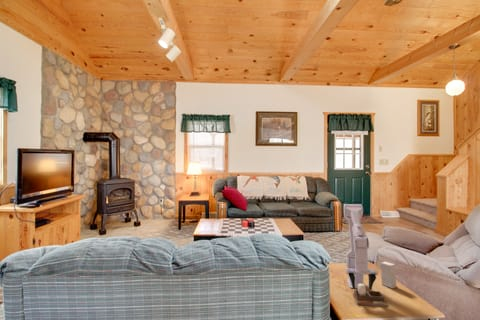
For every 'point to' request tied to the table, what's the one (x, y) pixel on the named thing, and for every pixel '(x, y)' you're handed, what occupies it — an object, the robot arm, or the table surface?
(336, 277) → the table surface
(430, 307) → the table surface
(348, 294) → the table surface
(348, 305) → the table surface
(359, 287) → the plug
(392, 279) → the skincare box
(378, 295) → the socket board
